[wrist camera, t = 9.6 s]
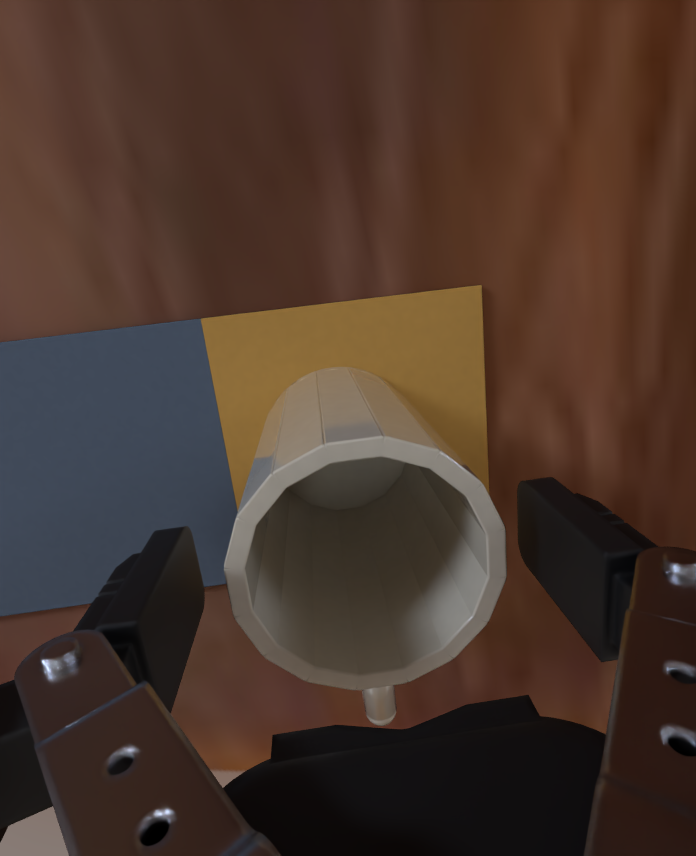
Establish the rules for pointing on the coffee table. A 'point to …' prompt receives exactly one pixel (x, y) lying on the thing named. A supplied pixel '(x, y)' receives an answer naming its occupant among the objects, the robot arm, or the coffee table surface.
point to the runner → (195, 425)
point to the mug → (361, 541)
